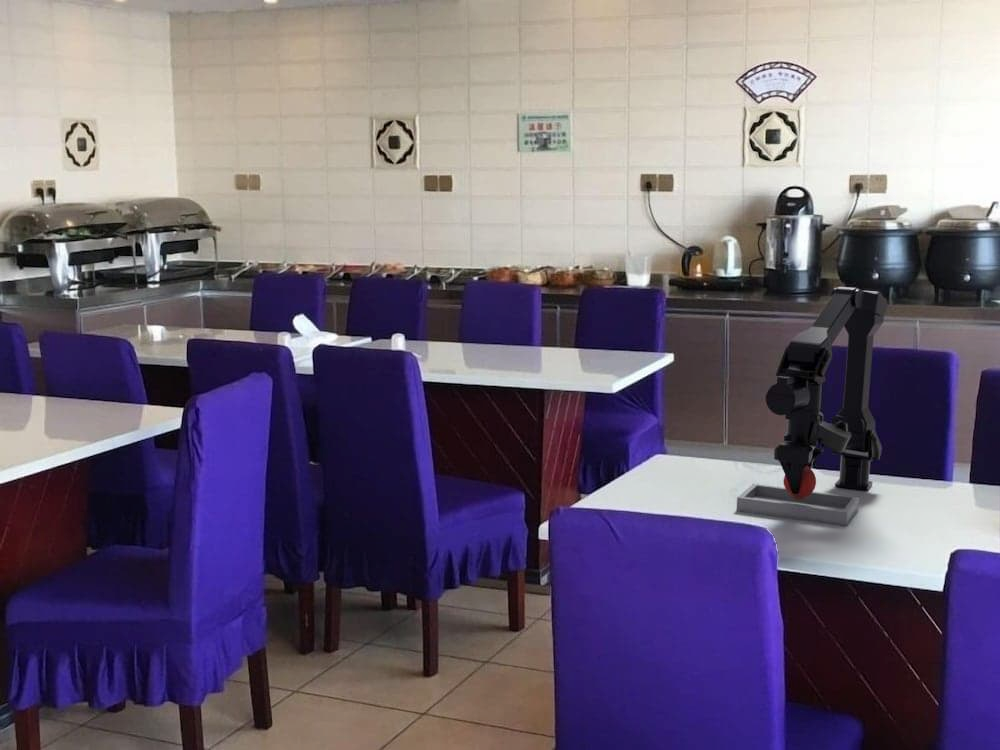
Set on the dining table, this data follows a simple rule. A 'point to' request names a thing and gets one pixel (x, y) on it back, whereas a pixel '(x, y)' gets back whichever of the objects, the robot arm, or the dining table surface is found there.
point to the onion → (803, 484)
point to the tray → (798, 505)
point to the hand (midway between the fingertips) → (799, 489)
